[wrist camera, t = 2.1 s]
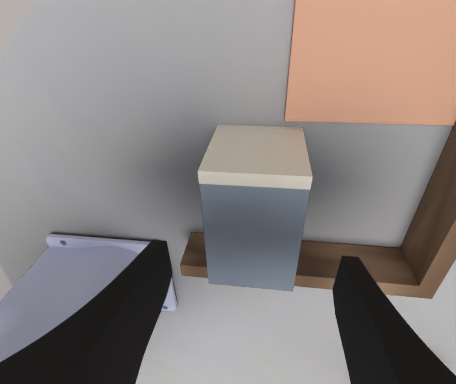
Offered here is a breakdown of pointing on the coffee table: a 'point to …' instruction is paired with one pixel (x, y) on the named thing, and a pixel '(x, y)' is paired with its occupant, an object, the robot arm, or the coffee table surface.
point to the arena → (375, 113)
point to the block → (254, 204)
